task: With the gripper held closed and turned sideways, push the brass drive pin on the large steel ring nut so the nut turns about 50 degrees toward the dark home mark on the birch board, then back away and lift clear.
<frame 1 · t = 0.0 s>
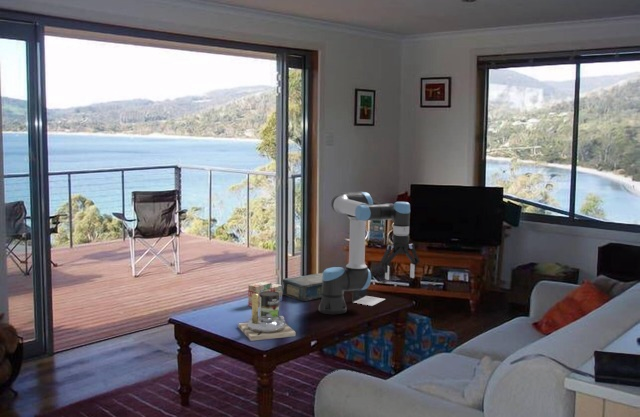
hand: (399, 278, 318), 28 cm above the table, tool pointing down, fingers open, 13 cm apart
stack of blocks: (265, 304, 374), on the table
ring nut: (266, 310, 321), point 11 cm above the table, hinge at 0.0°
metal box: (313, 295, 397), on the table
laptop: (369, 302, 383), on the table
base board: (266, 331, 322), on the table
coffee can: (269, 320, 342), on the table
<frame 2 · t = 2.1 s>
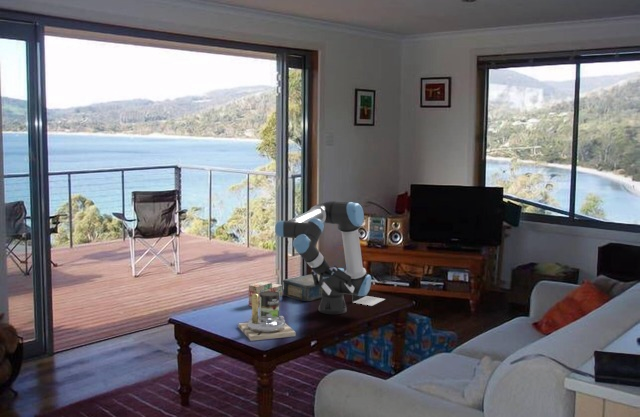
hand: (341, 291, 310), 23 cm above the table, tool tilted 45°, fingers open, 13 cm apart
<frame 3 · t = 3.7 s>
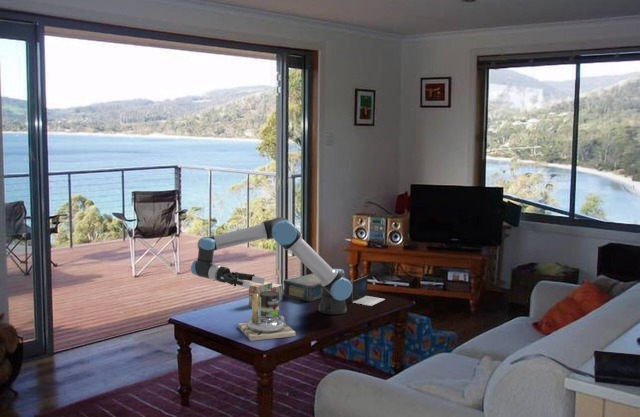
hand: (256, 283, 317), 24 cm above the table, tool horizontal, fingers open, 13 cm apart
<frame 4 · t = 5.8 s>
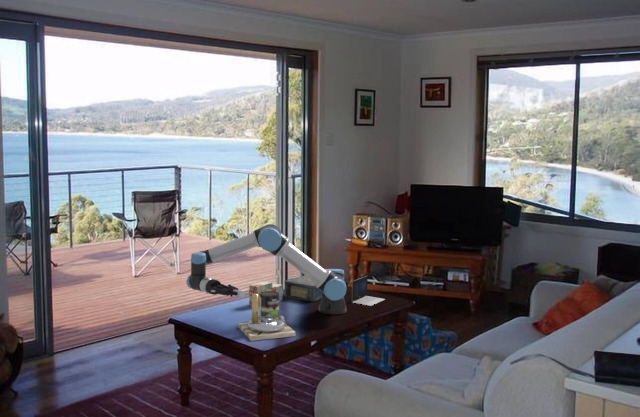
hand: (243, 294, 322), 18 cm above the table, tool horizontal, fingers closed
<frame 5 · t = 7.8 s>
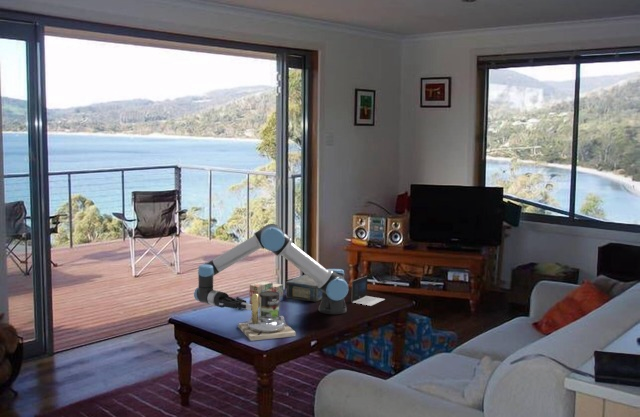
hand: (251, 307, 319), 12 cm above the table, tool horizontal, fingers closed
ring nut: (266, 310, 321), point 11 cm above the table, hinge at 0.4°, touching gripper
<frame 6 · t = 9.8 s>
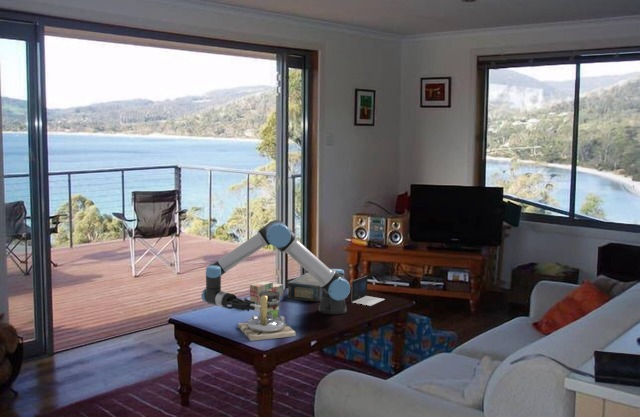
hand: (260, 309, 316), 13 cm above the table, tool horizontal, fingers closed
ring nut: (266, 310, 321), point 11 cm above the table, hinge at 56.8°
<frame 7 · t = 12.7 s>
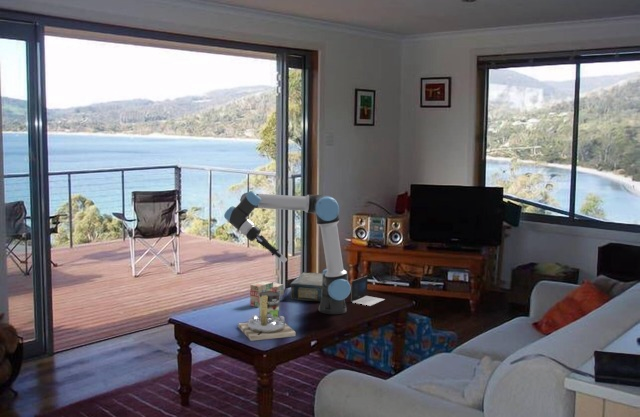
hand: (285, 261, 327), 33 cm above the table, tool tilted 55°, fingers closed
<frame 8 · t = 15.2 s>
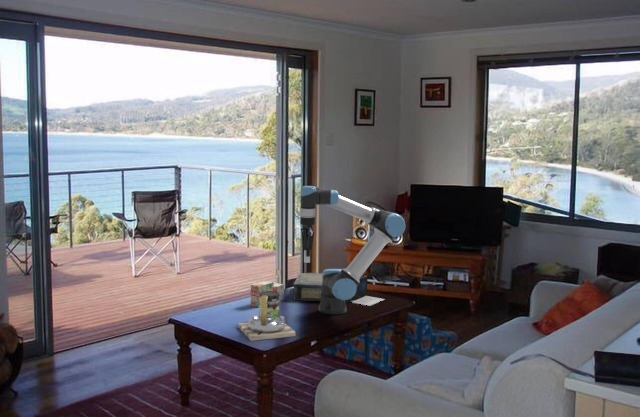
hand: (306, 262, 339), 30 cm above the table, tool pointing down, fingers closed
at the end: ring nut at +57° (first picture: +0°); ring nut touching nothing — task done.
